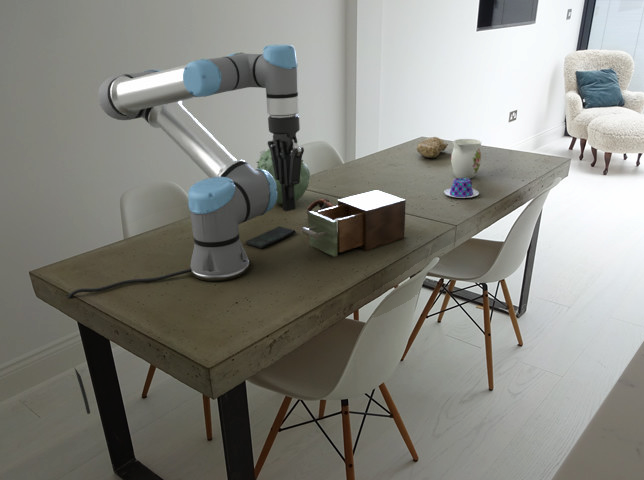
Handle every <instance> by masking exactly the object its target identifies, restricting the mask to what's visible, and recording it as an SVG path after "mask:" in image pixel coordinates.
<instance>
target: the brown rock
mask: <svg viewBox="0 0 644 480" xmlns="http://www.w3.org/2000/svg"><path fill="white" fill-rule="evenodd" d="M448 146H449V143H448V142H447V141H446V140H444V139H442V138H439V137H437V136H431V137H428V138H426V139H424V140H422V141H420V142H419V143H418V144H417V146H416V151H417V153H418V154H419V155H421V156H422V157H425V158H429V159H433V158H436V157H438V156H440V154H441V152H443V151H445V150H446V149H447V147H448Z"/></svg>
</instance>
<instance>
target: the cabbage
mask: <svg viewBox="0 0 644 480" xmlns="http://www.w3.org/2000/svg"><path fill="white" fill-rule="evenodd" d="M255 163H256V164H257V167H256V169H263V170H266V171H267V172H269V173H270V174H271V175H272V177H273V178H274V180H275V183H276V186H277V189H276V190H277V201H276V203H275V204H277V205H283V201H282V190H281V184H280V182H279V180H276V178H275V173H274V168H273V163H272V157H271V152H270V149H269V148H268V149H263V150H261V151H260V152H259V159H258V160H257V161H256V162H255ZM310 177H311V171H310V169H309V166H307V164H306V163H305V162H304V159H302V161H301V172H300V182H299V184H295V185H294V193H295V197H294V200H295V202H297V201H299V200H300V199H301V198H302V197H303V196H304V194H305V193H306V190H307V189H308V188H309V183H310Z"/></svg>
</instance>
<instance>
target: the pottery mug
mask: <svg viewBox="0 0 644 480" xmlns="http://www.w3.org/2000/svg"><path fill="white" fill-rule="evenodd" d="M316 207H319V209H318V210H316V211H315V212H316V213H317V211H320V210H323V209H327V208H331V207H335V205H334V204H332V203H331V202H330V199H328V198H326V197H324V198H319V199H316V200H315V201H313V202H312V203H310V204H309V206H308V207H307V210H306V213H305V214H306V215H307V222H309V213H308V212H310V211H313V209H315V208H316Z"/></svg>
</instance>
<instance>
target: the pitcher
mask: <svg viewBox="0 0 644 480" xmlns="http://www.w3.org/2000/svg"><path fill="white" fill-rule="evenodd" d="M452 144H453V149H452V151H451V156H450V164H451V169H452V173H453V175H454V176H455V177H456V179H457V178H467V179H469V180H471V179H473V178H474V177H475V176H476V174H477V173H478V171H479V169H480V167H481V166H480V165H481V161H482V152H481V145H482V141H481V140H480V139H479V140H478V139H474V138H460V139H459V138H458V139H454V140H453V141H452Z"/></svg>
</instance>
